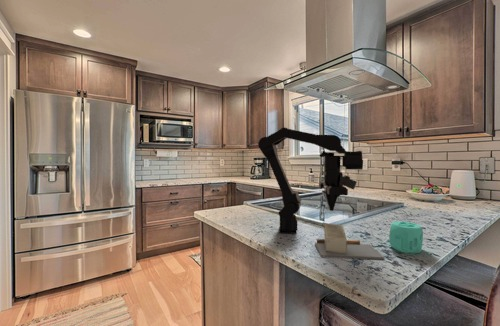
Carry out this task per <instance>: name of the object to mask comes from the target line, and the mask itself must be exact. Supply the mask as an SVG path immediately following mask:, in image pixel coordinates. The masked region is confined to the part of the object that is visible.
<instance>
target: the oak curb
mask: <svg viewBox="0 0 500 326" xmlns="http://www.w3.org/2000/svg"><path fill="white" fill-rule="evenodd" d="M316 243H325V238H316ZM347 244H361V241H360V240H359V239H347Z"/></svg>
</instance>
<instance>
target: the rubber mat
mask: <svg viewBox="0 0 500 326" xmlns="http://www.w3.org/2000/svg"><path fill="white" fill-rule="evenodd" d="M314 246H315V248H316V249H317V252H318V253H319V255H320V257H321V258H334V259H335V258H337V259H339V258H340V259H360V260H361V259H363V260H366V259H367V260H385V257H384V256H383V255H382V253H380V252H379V251H378V250H377V249H375V248H374V246H372V245H371V244H366V243H365V244H364V243H363V244H361V243H360V244H347V249H346V254H345V253H336V252H329V251H325V243H317V242H314Z"/></svg>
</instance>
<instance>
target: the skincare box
mask: <svg viewBox="0 0 500 326" xmlns="http://www.w3.org/2000/svg"><path fill="white" fill-rule="evenodd" d="M323 231H324V232H323V233H324V239H325V251H329V252H336V253H345V254H346V249H347V240H348V239H347V235H346V233H345V229H344V225H342V224H332V223H324V230H323Z"/></svg>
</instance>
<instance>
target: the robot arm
mask: <svg viewBox="0 0 500 326" xmlns="http://www.w3.org/2000/svg"><path fill="white" fill-rule="evenodd" d="M287 139H289V140H294V141H298V142H302V143H306V144H312V145H316V146H318V147H320V148H322V149H325V150H326V151H330V152H326V151H325V150H322V153H320V154H319V157H320V158H324V163H323V165H324V166H323V170H322V174H323V181H320V182H319V183H318V189H321V192H322V195H323V197H324V199H325V202H326V204H327V206H328V207H327V208H328V210H329V211H330V212H334V209H335V206H336V202H337V199H338V198H339V197H340V196H348V195H349V189H351V190H355V188H356V185H357V182H358V181H356V180H353V179H351V177H350V176H348V175H343V172H342V171H341V166H342V167H344V168H345V170H350V171H351V170H357V171H358V170H359V171H363V169H364V168H363V167H364V159H363V151H362V150H357V151H346V148H344V146H342V140H341V138H340V137H339V136H337V135H336V134H314V133H309V132H305V131H299V130H295V129H290V128H288V127H281V128H280V129H279V130H277V131H275V132H273V133H271V134H269V135H268V136H262V137H261V138H260V139H259V140H258V143H257V146H258V148H259V150H260V151H261V153H262V154H263V156H264V157H265V158H266V159H267V162H269V163H268V164H269V165H270V168H271V170H272V172H273V176H274V177H275V180H276V182H277V184H278V187H279V190H280V192H281V197H282V204H283V207H282V208H281V209H280V210H279V211H278V216H279V227H278V230H279V233H280V234H297V231H298V219H297V216H296V213H297V212H299V211H300V208H301V206H302V198H301V197H300V195H299V191H298V190H296V191H295V190H293V188H292V187H291V185H290V182H289V180H288V178H287V174H286V172H285V170H284V168H283V166H282V163H281V160H280V159H279V156H278V155H279V154H278V147H277V146H278V145H280V143H282V142H284V141H285V140H287ZM335 152H336V153H337V154H339V155H335ZM341 158H342V159H341ZM341 162H342V163H341ZM322 189H323V190H322Z"/></svg>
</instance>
